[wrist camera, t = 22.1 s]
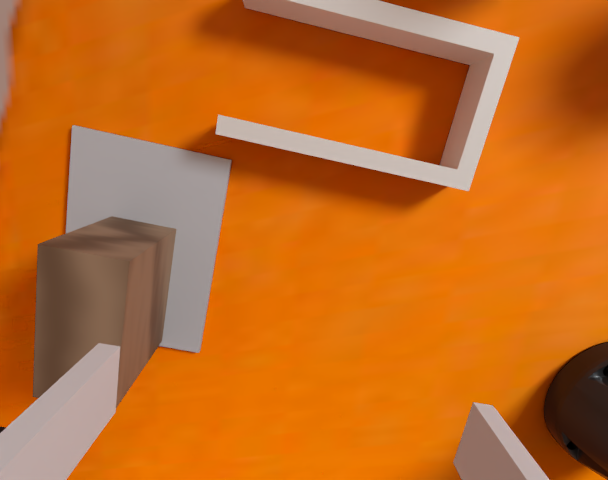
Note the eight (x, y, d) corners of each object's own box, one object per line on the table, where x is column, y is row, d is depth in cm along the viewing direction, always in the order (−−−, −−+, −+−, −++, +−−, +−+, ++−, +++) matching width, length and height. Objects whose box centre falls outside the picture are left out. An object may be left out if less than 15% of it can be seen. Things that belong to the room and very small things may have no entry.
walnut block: (176, 228, 34) (129, 261, 24) (162, 340, 37) (114, 409, 27) (111, 216, 34) (37, 244, 24) (102, 330, 36) (32, 396, 27)
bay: (448, 186, 34) (468, 191, 30) (224, 135, 33) (215, 134, 29) (491, 51, 31) (519, 37, 28) (248, -13, 30) (241, -36, 26)
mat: (200, 349, 38) (199, 352, 37) (63, 325, 37) (60, 328, 36) (232, 160, 33) (230, 160, 33) (76, 125, 32) (72, 125, 32)
